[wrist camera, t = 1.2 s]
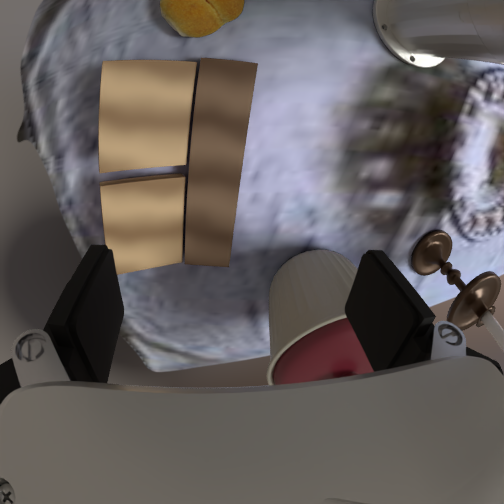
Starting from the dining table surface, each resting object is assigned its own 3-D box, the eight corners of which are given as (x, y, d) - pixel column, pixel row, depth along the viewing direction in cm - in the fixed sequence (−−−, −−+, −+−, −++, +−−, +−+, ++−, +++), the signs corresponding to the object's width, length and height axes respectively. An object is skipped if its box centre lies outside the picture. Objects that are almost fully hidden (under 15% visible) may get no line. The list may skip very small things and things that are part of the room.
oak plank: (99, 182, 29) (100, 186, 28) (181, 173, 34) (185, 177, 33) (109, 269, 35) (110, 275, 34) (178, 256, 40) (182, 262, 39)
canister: (231, 300, 46) (240, 425, 28) (296, 207, 38) (357, 326, 20) (318, 330, 52) (351, 432, 34) (383, 258, 44) (450, 357, 27)
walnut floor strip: (202, 59, 27) (200, 57, 25) (255, 64, 28) (257, 63, 26) (185, 255, 40) (184, 264, 39) (228, 258, 41) (229, 267, 40)
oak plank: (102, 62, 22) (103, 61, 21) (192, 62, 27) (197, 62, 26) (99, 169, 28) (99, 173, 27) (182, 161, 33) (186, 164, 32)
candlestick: (414, 227, 42) (551, 405, 12) (459, 223, 42) (584, 367, 13) (401, 280, 48) (498, 449, 18) (443, 272, 48) (540, 413, 19)
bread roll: (257, 7, 24) (261, -2, 20) (192, 49, 26) (188, 45, 23) (213, -37, 20) (212, -50, 16) (149, 5, 22) (141, -3, 19)
